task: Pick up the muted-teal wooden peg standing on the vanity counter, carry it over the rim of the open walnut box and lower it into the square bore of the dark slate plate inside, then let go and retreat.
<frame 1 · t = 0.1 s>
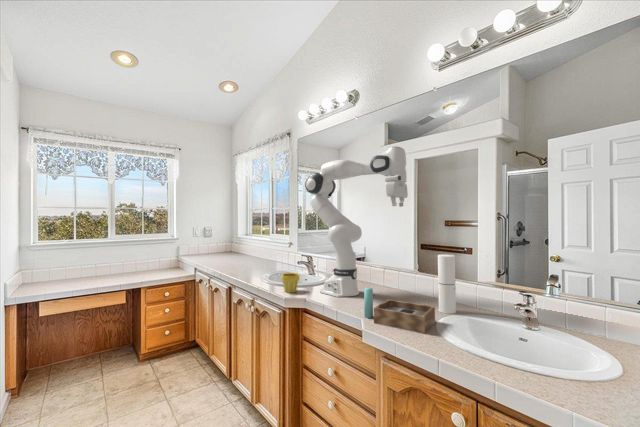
hand: (397, 206, 152), 48 cm above the counter, fingers open, 8 cm apart
plant pot: (290, 291, 176), on the counter
box: (404, 322, 122), on the counter
cylindrical container: (447, 311, 135), on the counter
peg: (368, 316, 129), on the counter
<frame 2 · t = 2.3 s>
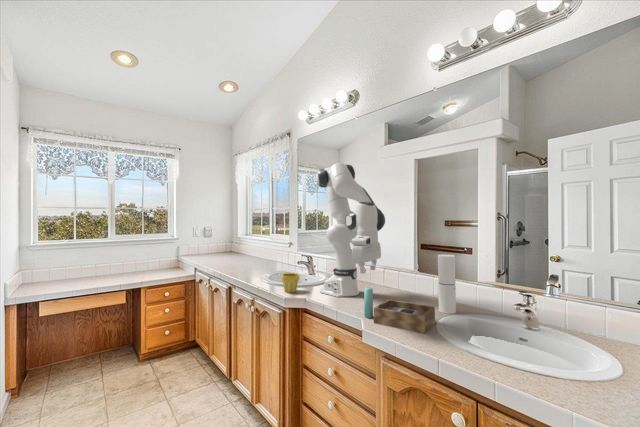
hand: (368, 271, 129), 19 cm above the counter, fingers open, 8 cm apart
nothing on the counter moved.
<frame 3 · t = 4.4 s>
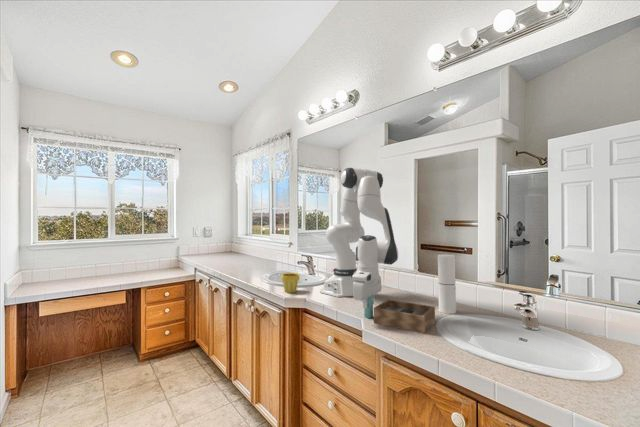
hand: (368, 306, 129), 5 cm above the counter, fingers closed on peg, 4 cm apart
peg: (368, 316, 129), on the counter, touching gripper
everything else where it was.
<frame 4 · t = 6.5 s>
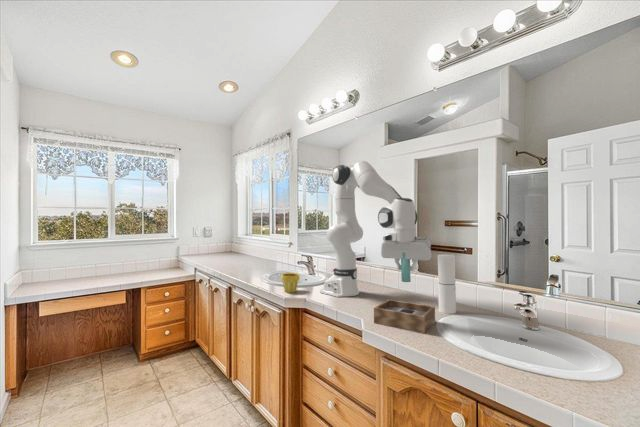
hand: (405, 270, 125), 21 cm above the counter, fingers closed on peg, 4 cm apart
peg: (406, 281, 124), point 16 cm above the counter, touching gripper
everything else where it was.
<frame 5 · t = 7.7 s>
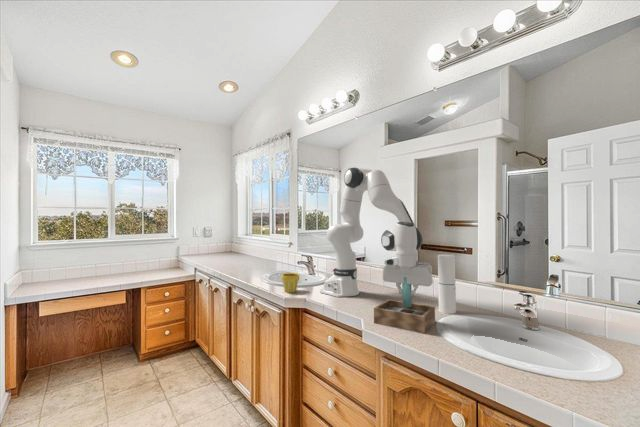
hand: (407, 294, 125), 11 cm above the counter, fingers closed on peg, 4 cm apart
peg: (407, 305, 124), point 6 cm above the counter, touching gripper
everything else where it was.
when the fingers open (7 cm above the counter, at t = 8.8 s): peg drops 2 cm, resting in box.
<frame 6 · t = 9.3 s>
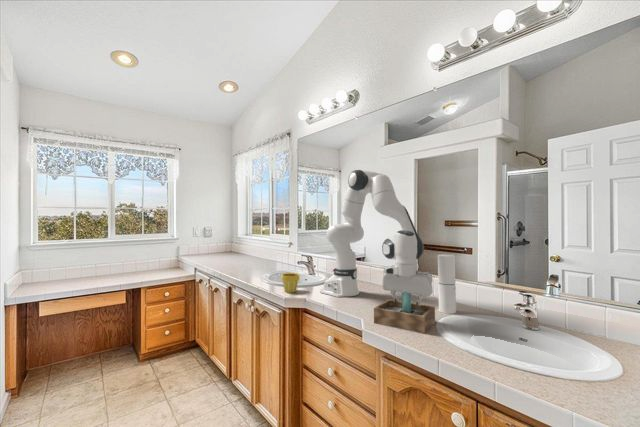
hand: (406, 303, 125), 7 cm above the counter, fingers open, 8 cm apart
peg: (406, 320, 124), resting in box
everything else where it was.
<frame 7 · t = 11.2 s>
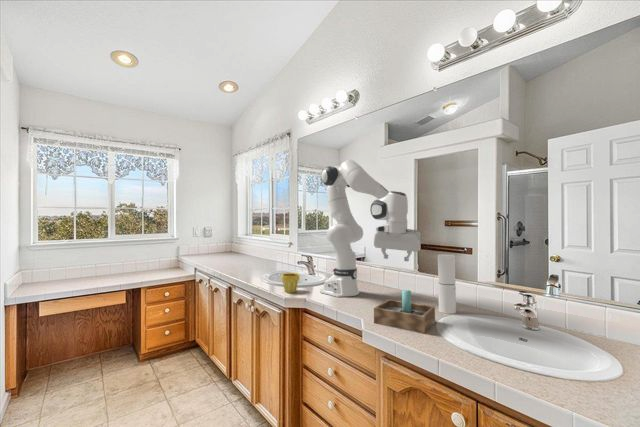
hand: (396, 259, 132), 24 cm above the counter, fingers open, 8 cm apart
nothing on the counter moved.
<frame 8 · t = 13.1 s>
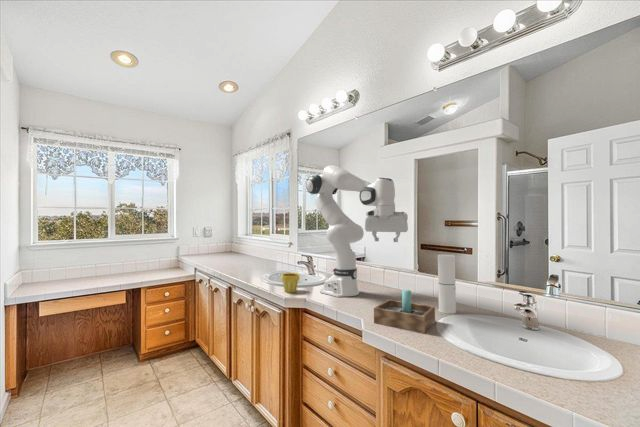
hand: (386, 241, 140), 31 cm above the counter, fingers open, 8 cm apart
nothing on the counter moved.
at the end: peg 0.1 cm from the target spot on the box, point 0.0 cm above the box's base; peg tilted 0°; the gripper is holding nothing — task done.
